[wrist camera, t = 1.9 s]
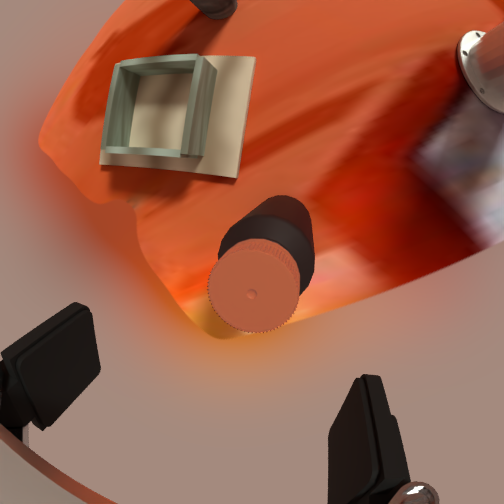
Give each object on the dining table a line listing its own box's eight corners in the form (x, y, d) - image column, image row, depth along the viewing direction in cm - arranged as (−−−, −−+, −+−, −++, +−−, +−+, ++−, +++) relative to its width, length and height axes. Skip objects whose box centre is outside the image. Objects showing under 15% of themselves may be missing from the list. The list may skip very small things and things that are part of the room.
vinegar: (306, 190, 32) (309, 220, 13) (314, 247, 34) (322, 343, 15) (249, 199, 34) (177, 239, 15) (259, 254, 35) (206, 349, 17)
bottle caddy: (256, 59, 29) (246, 40, 23) (238, 177, 33) (224, 179, 28) (119, 65, 31) (94, 54, 26) (103, 164, 36) (75, 165, 30)
